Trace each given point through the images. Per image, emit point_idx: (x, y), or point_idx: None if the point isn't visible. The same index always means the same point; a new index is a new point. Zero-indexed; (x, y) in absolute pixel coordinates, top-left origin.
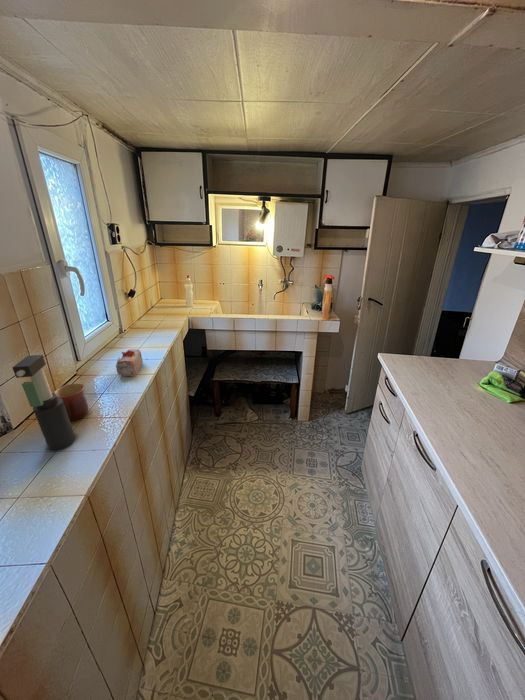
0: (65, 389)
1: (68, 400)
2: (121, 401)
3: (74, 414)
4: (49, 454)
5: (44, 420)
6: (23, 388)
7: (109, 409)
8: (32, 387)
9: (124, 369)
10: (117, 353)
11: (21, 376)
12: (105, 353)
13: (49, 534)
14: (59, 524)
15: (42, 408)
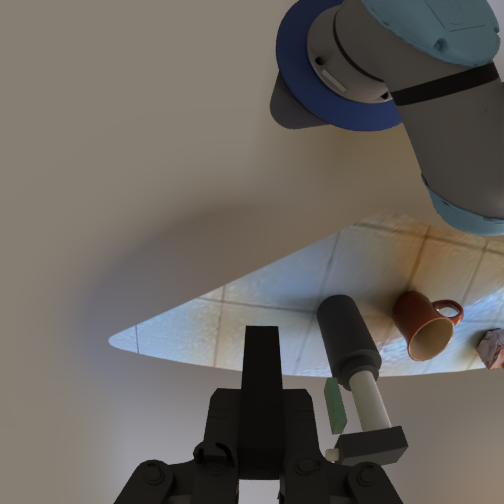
0: (446, 322)
1: (406, 339)
2: None
3: (395, 320)
4: (309, 305)
5: (328, 354)
6: (334, 413)
7: (400, 348)
8: (331, 424)
9: (487, 349)
10: None
11: (337, 442)
12: None
13: (165, 350)
14: (176, 355)
15: (340, 369)
